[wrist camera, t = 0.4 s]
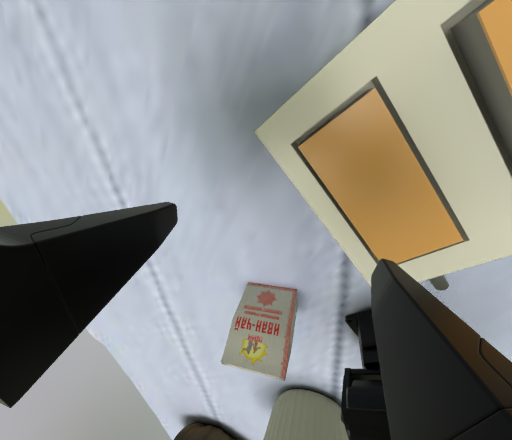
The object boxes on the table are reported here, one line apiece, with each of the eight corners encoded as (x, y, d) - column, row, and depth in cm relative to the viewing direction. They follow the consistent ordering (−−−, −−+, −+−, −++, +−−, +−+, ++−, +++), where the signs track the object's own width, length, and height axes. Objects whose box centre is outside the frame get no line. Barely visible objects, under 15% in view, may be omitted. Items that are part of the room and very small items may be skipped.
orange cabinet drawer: (446, 223, 18) (463, 240, 16) (378, 249, 21) (384, 268, 19) (368, 88, 16) (375, 87, 13) (301, 141, 19) (297, 147, 16)
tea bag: (296, 308, 30) (285, 389, 22) (250, 300, 32) (223, 372, 24) (297, 289, 28) (284, 369, 20) (248, 282, 30) (218, 352, 22)
